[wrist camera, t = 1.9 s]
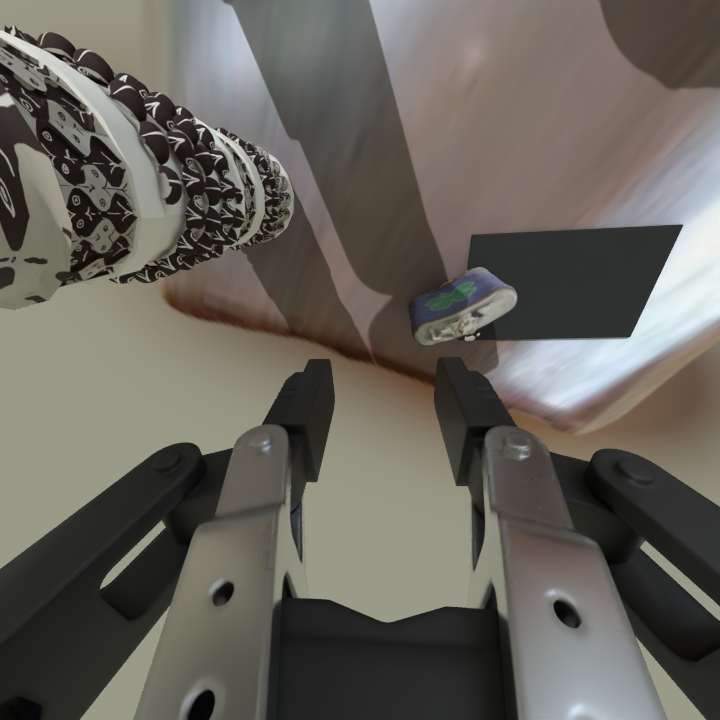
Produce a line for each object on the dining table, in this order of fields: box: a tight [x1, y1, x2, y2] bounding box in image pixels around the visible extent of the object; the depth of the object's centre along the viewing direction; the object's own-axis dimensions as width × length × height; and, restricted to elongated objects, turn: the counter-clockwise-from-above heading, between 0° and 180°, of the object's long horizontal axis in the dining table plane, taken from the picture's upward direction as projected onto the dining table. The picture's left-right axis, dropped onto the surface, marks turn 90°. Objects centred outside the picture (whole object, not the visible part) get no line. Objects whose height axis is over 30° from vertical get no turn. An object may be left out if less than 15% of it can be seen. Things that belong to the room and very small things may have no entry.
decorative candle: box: [0, 26, 294, 310], centre depth 17 cm, size 9×9×25 cm
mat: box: [458, 225, 683, 340], centre depth 30 cm, size 20×12×1 cm, turn 93°
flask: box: [409, 267, 517, 346], centre depth 27 cm, size 9×3×11 cm, turn 120°
